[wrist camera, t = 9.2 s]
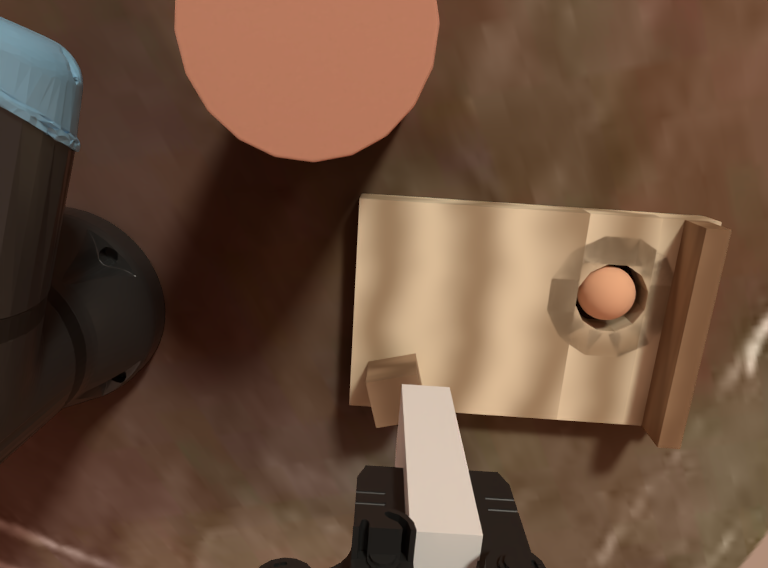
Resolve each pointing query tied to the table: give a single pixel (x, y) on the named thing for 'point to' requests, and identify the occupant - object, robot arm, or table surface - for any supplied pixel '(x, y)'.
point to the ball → (607, 293)
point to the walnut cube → (390, 386)
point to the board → (536, 307)
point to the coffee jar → (308, 69)
